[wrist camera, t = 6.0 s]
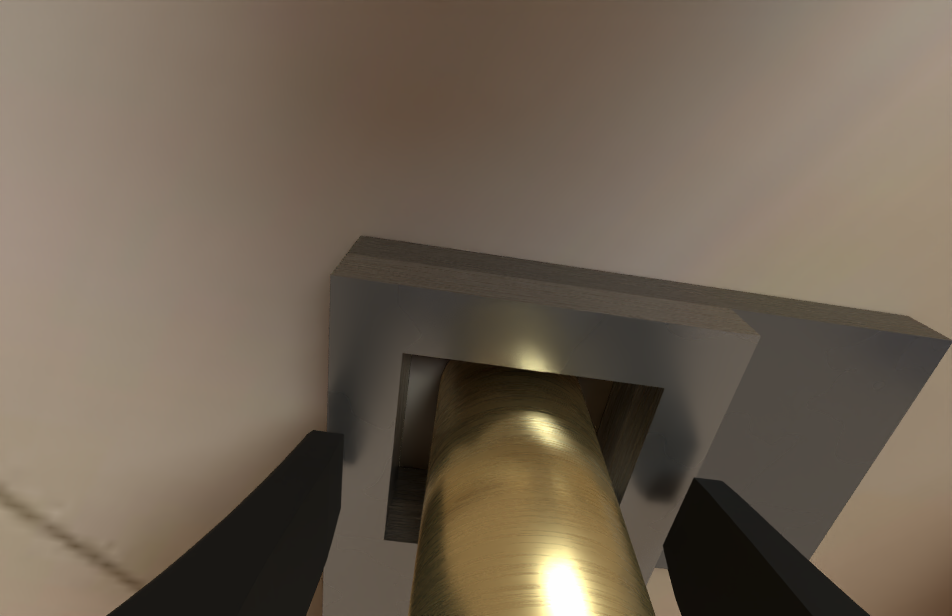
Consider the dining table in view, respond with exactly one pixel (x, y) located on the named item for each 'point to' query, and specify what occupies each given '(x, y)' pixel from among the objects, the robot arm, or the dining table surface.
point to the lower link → (755, 389)
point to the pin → (520, 504)
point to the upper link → (525, 347)
